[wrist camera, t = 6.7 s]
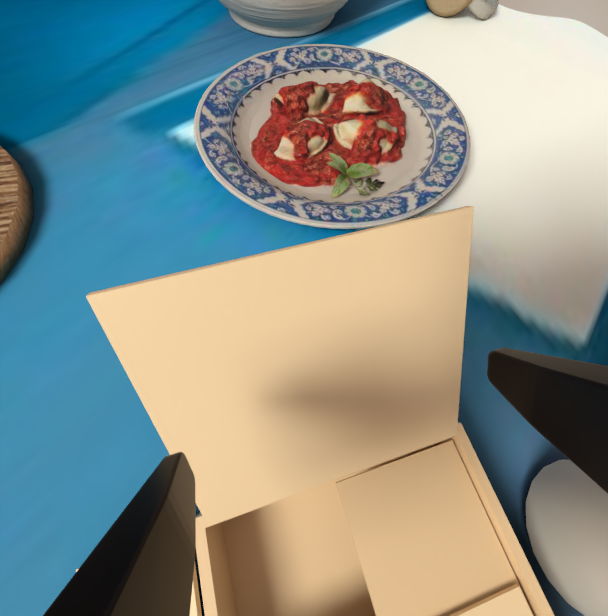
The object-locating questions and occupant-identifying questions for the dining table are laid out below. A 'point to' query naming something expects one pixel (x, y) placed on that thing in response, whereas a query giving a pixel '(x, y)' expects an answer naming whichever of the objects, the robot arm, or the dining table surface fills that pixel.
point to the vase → (283, 15)
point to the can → (571, 535)
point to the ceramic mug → (449, 3)
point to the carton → (373, 546)
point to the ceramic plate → (331, 136)
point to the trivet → (13, 211)
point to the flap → (300, 357)
